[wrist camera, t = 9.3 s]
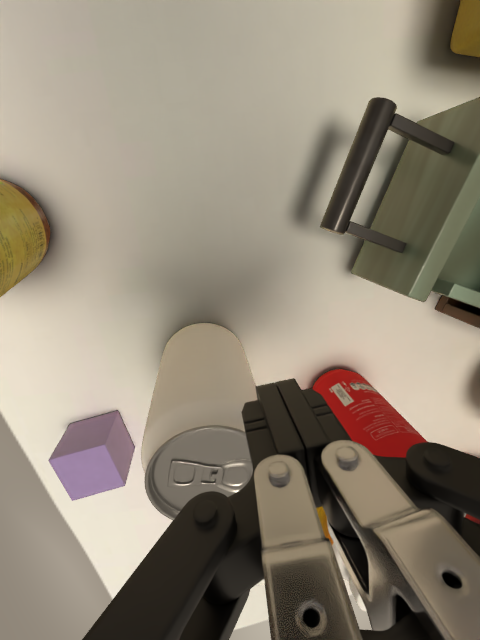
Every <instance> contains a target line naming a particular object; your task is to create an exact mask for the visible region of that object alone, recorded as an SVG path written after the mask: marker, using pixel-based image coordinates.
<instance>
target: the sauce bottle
mask: <svg viewBox="0 0 480 640" xmlns="http://www.w3.org/2000/svg"><path fill="white" fill-rule="evenodd" d="M49 240H50V226H49V224H48V221H47V218H46V216H45V215H44V212H43V210H42V209H41V207H40V205H39V204H38V203H37V202H36V201H35V199H34V198H33V197H32V196H31V195H30V194H29V193H27V192H26V191H25V190H24V189H22V188H21V187H19V186H17V185H15V184H13V183H11V182H8V181H6V180H2V179H0V297H1V296H2V295H4V294H5V293H6V292H7V291H8V290H10V289H11V288H12V287H14V286H15V285H16V284H17V283H19V282H20V281H21V280H22V279H23V278H25V277H26V276H27V275H28V274H29V273H31V272H32V271H33V270H34V269H35V268H36V267H37V266H38V265H39V263H40V262H41V261H42V259H43V257H44V256H45V254H46V252H47V250H48V245H49Z"/></svg>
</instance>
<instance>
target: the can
mask: <svg viewBox="0 0 480 640" xmlns="http://www.w3.org/2000/svg"><path fill="white" fill-rule="evenodd" d="M255 400H257V394H256V385H255V382H254V379H253V376H252V373H251V370H250V367H249V364H248V362H247V359H246V356H245V353H244V350H243V348H242V345H241V343H240V342H239V340H238V339H237V337H236V336H235V335H234V334H233V333H232V332H230V331H229V330H227V329H226V328H224V327H222V326H219V325H216V324H211V323H197V324H193V325H189V326H187V327H185V328H183V329H181V330H179V331H178V332H177V333H175V334H174V335H173V336H172V337H171V338H170V340H169V341H168V343H167V344H166V346H165V349H164V351H163V355H162V358H161V362H160V367H159V371H158V375H157V379H156V383H155V388H154V392H153V396H152V401H151V405H150V410H149V414H148V418H147V423H146V427H145V432H144V437H143V442H142V451H141V460H142V466H143V469H144V472H145V489H146V493H147V495H148V498H149V500H150V501H151V503H152V504H153V506H154V507H155V508H156V509H157V510H158V511H159V512H160V513H162V514H163V515H164V516H166V517H168V518H169V519H171V520H174V519H175V518H176V516H177V515H178V514H179V512H180V511H181V510H182V508H183V507H184V506H185V505H186V503H187V502H188V501H189V500H191V499H192V498H193V497H195V496H196V495H198V494H201V493H204V492H209V491H215V492H220V493H222V494H224V495H226V496H227V497H229V496H231V495H233V494H234V493H236V492H238V491H239V490H241V489H242V488H243V487H244V486H245V485H246V484H247V483H248V482H249V480H250V479H251V476H252V473H253V467H252V463H251V458H250V453H249V449H248V444H247V439H246V434H245V428H244V423H243V418H242V413H241V412H242V409H243V407H244V404H245V403H246V402H250V401H255Z"/></svg>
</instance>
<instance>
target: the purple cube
mask: <svg viewBox="0 0 480 640" xmlns="http://www.w3.org/2000/svg"><path fill="white" fill-rule="evenodd" d="M134 449H135V447H134V445H133V443H132V441H131V438H130V436H129V434H128V432H127V429H126V427H125V425H124V423H123V421H122V418H121V416H120V414H119V412H118V411H115V412H111V413H107V414H104V415H100V416H96V417H93V418H89V419H85V420H82V421H78V422H75V423H71V424H70V425H69V426H68V428H67V430H66V431H65V433H64V435H63V436H62V438H61V440H60V442H59V443H58V445H57V447H56V448H55V450H54V452H53V453H52V455H51V457H50V459H49V462H50V464H51V466H52V467H53V469H54V471H55V472H56V474H57V476H58V477H59V479H60V481H61V483H62V484H63V486H64V488H65V489H66V491H67V493H68V495H69V496H70V498H71V500H72V501H73V500H77V499H80V498H84V497H87V496H91V495H94V494H98V493H101V492H105V491H108V490H112V489H115V488H119V487H122V486H125V484H126V480H127V476H128V472H129V468H130V464H131V460H132V457H133V453H134Z"/></svg>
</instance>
